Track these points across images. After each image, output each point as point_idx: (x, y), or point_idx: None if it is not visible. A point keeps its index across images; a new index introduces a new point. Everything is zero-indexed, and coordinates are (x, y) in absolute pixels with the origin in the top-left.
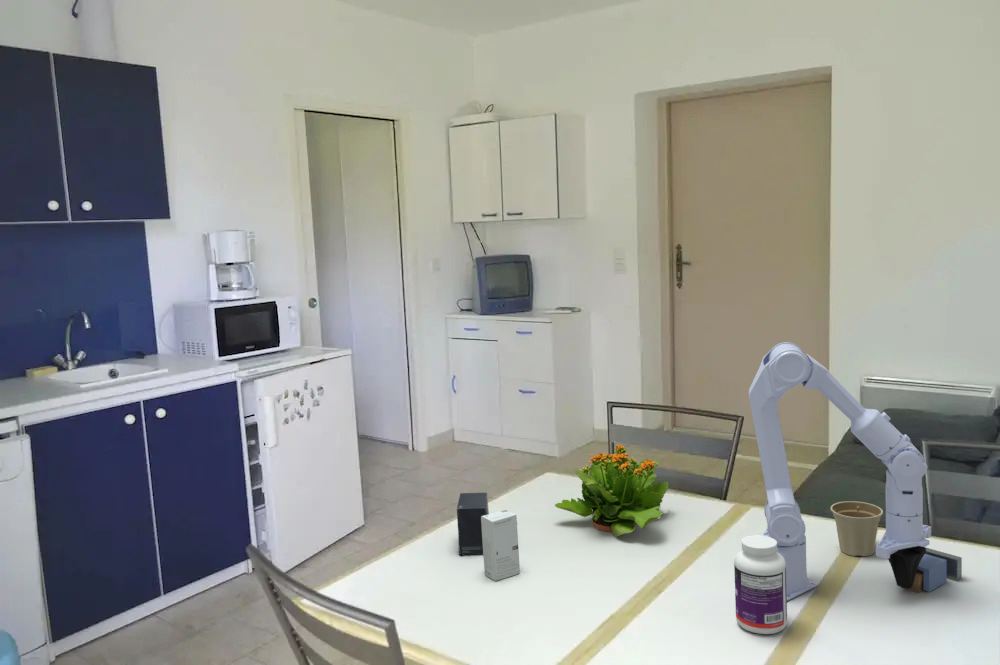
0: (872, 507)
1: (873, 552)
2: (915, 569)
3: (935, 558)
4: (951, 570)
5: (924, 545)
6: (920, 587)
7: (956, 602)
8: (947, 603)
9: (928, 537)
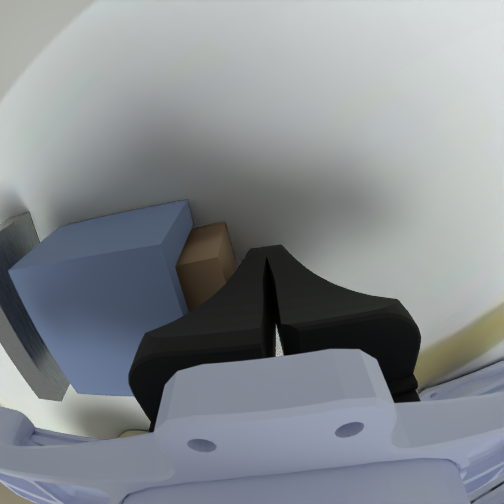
0: None
1: (130, 432)
2: (246, 282)
3: (38, 308)
4: (15, 247)
5: (372, 365)
6: (208, 232)
7: (170, 78)
8: (212, 90)
9: (17, 414)
